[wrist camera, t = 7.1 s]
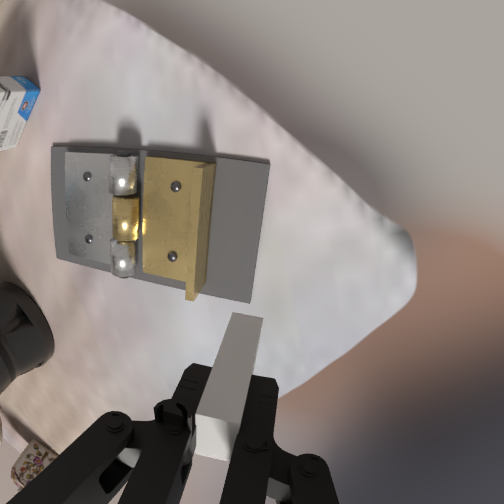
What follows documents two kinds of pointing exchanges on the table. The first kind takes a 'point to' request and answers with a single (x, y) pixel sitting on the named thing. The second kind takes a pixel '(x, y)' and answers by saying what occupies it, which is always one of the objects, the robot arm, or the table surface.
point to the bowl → (0, 429)
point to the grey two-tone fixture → (221, 231)
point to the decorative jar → (31, 463)
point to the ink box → (15, 108)
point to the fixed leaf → (99, 206)
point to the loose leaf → (171, 219)
